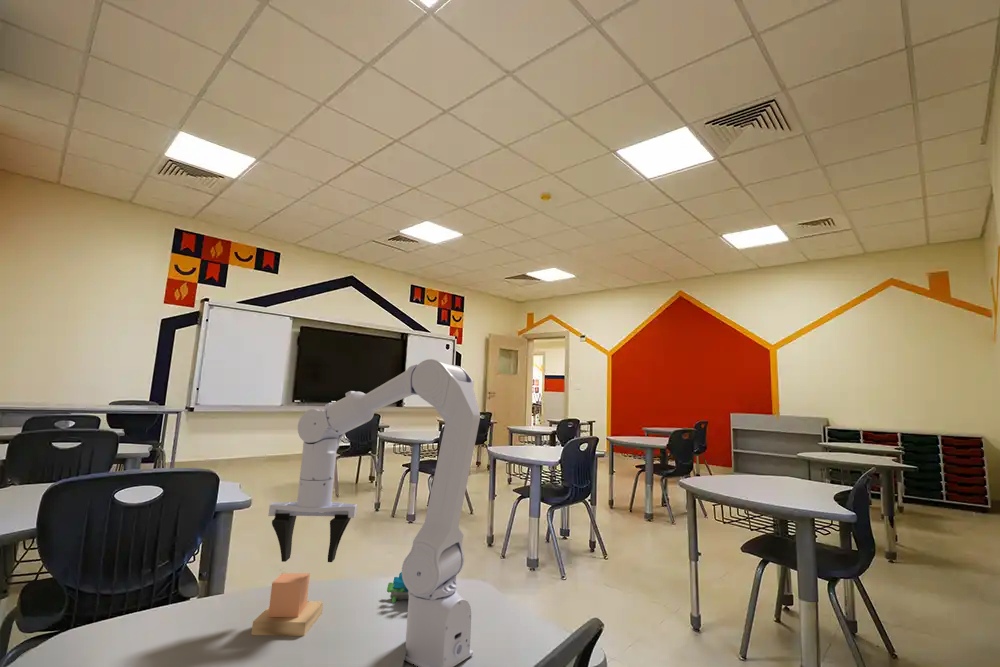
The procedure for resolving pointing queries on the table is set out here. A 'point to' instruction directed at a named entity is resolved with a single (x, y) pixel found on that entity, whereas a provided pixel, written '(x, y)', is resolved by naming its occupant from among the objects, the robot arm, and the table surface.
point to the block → (289, 595)
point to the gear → (398, 589)
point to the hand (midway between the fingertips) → (308, 560)
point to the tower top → (288, 622)
